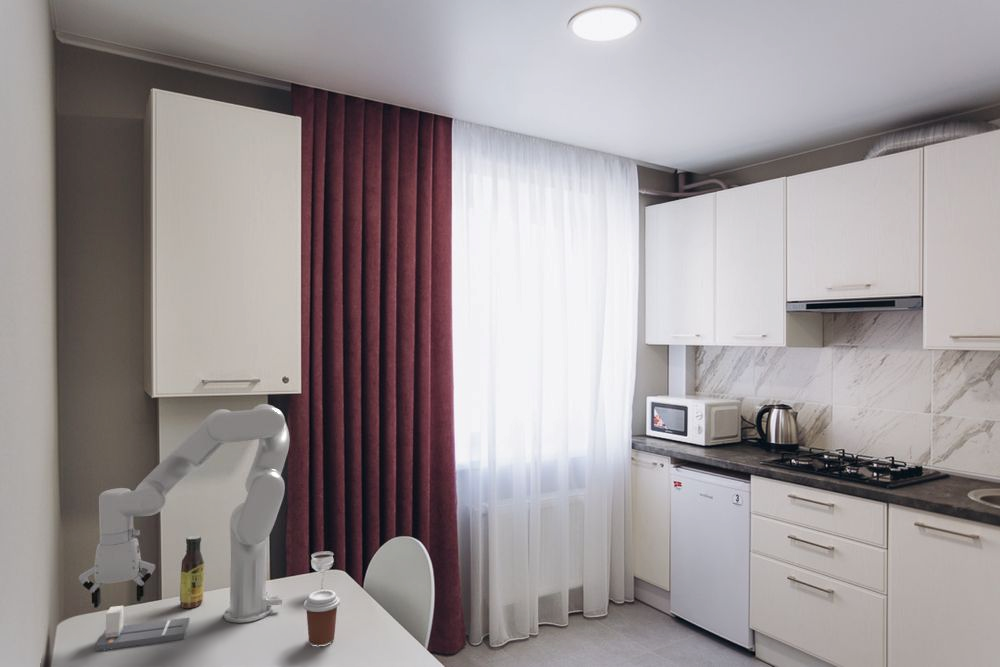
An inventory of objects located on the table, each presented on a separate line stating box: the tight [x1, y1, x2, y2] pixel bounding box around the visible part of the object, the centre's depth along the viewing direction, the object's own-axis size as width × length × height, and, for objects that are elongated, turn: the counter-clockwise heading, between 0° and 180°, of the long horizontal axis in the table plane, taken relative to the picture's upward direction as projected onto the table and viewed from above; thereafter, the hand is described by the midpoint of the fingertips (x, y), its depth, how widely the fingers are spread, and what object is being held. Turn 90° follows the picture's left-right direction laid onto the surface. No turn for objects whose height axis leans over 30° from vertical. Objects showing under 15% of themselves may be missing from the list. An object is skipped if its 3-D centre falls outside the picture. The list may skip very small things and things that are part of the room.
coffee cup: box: [303, 589, 341, 646], centre depth 161 cm, size 9×9×12 cm
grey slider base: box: [95, 617, 191, 652], centre depth 164 cm, size 20×10×2 cm, turn 109°
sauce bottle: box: [179, 535, 205, 609], centre depth 184 cm, size 7×6×20 cm
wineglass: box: [310, 550, 335, 590], centre depth 192 cm, size 7×7×12 cm
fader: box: [105, 605, 125, 638], centre depth 161 cm, size 3×5×6 cm, turn 19°
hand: (118, 602), depth 162 cm, fingers open, 9 cm apart
